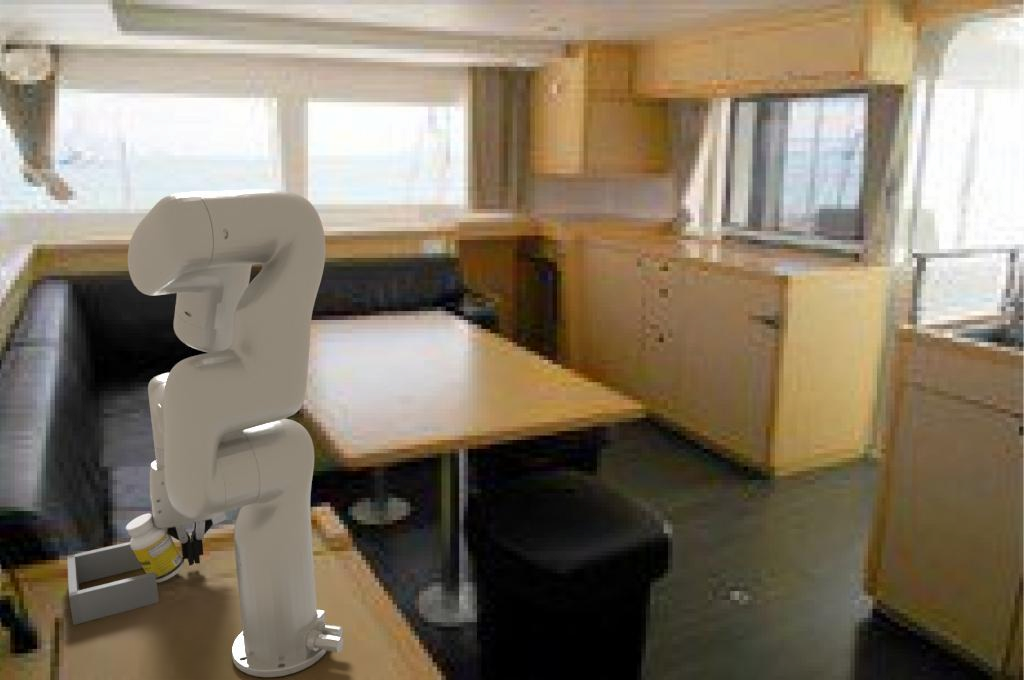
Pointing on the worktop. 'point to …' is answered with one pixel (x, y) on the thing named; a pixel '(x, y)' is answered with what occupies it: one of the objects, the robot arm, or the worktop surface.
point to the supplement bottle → (154, 548)
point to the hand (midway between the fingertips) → (193, 560)
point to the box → (112, 594)
